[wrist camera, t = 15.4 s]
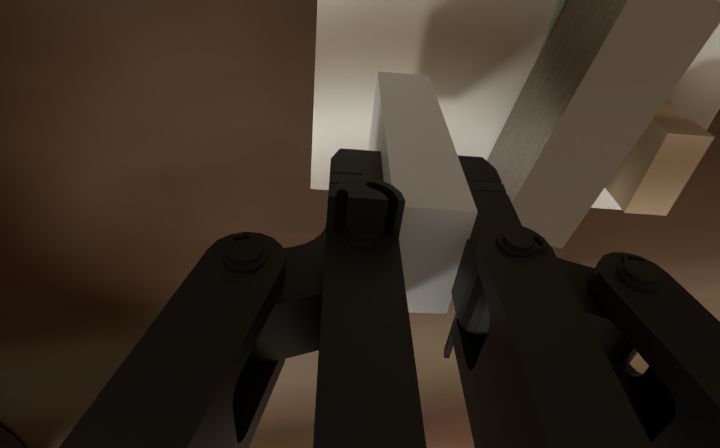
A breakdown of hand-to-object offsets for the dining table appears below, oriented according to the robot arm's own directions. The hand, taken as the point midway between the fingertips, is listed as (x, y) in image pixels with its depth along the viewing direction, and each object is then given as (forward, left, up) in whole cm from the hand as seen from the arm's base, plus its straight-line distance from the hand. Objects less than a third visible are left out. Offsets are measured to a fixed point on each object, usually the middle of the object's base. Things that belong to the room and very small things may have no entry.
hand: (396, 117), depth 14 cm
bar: (0, -5, -2) cm, 6 cm away
